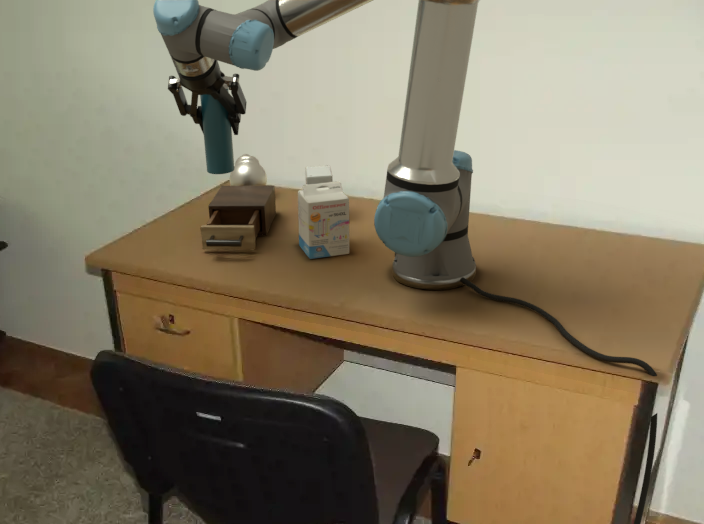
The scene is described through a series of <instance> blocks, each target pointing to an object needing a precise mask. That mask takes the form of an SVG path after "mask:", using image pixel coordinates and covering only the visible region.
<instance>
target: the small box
mask: <svg viewBox="0 0 704 524" xmlns="http://www.w3.org/2000/svg"><path fill="white" fill-rule="evenodd" d="M304 170H305V173H304V174H305V185H307V184H319V183H328V182H334V181H333V173H332V168H331V165H329V164H328V165H327V164H326V165H310V166H305V167H304ZM325 187H326V186H320V187H318V188H325Z"/></svg>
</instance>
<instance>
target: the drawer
mask: <svg viewBox="0 0 704 524" xmlns="http://www.w3.org/2000/svg"><path fill="white" fill-rule="evenodd" d="M261 226H262V225H261V209H216V210H215V211H214V213H213V215H212V216H211V218H209V220H208V221H207V223H206V224H201V226H200V237H201V245H202V246H201V247H202V250H246V251H249V250H251V251H252V250H254V251H255V250H256V239H257V237H258V236H257V235H258V233H259V231H260V229H261Z"/></svg>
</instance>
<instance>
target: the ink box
mask: <svg viewBox="0 0 704 524" xmlns="http://www.w3.org/2000/svg"><path fill="white" fill-rule="evenodd" d="M320 186H326V187H325V188H318V187H320ZM297 213H298V214H297V217H298V246H299V247H300V249H301V250H302V251H303V253H305V256H307V258H308V259H310V260H314V259H315V260H316V259H322V258H329V257H336V256H344V255H348V254H350V197H349V196H347V194H346V193H345V192H344V190H343V186H342V182H341V181H339V180H338V181H333V182H328V183H319V184H307V185H306V184H304V185H302V189H298V190H297Z"/></svg>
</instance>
